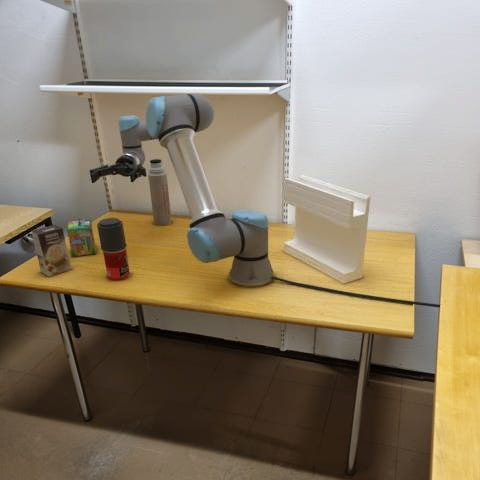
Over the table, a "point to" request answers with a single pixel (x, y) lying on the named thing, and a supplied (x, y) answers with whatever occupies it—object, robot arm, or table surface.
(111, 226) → the cap
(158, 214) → the thermos bottle
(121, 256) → the canned food
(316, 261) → the block
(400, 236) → the table surface
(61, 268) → the coffee box
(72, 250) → the chalk box
